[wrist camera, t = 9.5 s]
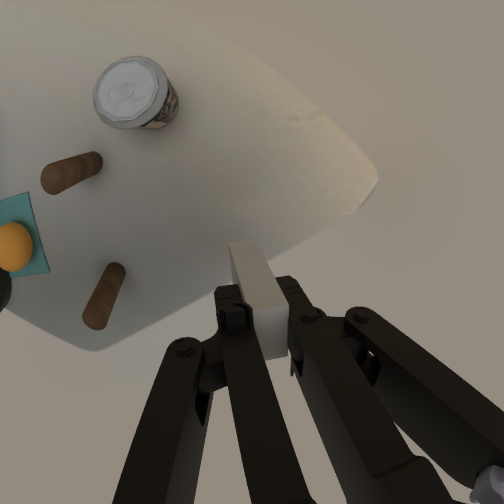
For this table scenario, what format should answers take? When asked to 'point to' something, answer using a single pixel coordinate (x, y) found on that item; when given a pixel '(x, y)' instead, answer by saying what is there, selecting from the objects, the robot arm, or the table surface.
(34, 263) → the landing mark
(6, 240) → the ball
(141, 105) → the beer can
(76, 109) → the table surface
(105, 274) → the post
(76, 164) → the post
